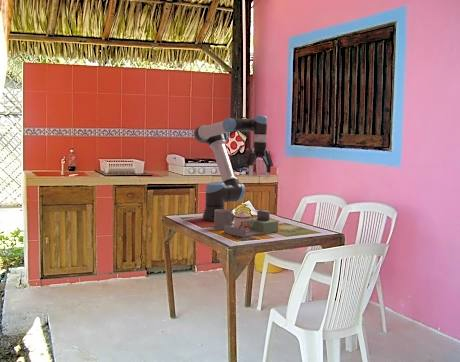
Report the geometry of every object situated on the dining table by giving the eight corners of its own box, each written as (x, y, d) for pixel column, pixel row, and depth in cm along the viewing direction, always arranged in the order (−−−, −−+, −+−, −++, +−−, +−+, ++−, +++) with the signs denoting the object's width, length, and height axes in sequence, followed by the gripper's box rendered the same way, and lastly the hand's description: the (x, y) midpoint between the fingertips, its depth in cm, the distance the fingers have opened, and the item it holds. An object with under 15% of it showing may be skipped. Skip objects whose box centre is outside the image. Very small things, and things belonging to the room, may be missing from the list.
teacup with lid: (239, 233, 300) (239, 212, 298) (230, 230, 307) (231, 210, 306) (257, 231, 306) (258, 211, 305) (248, 229, 314) (249, 208, 312)
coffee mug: (219, 229, 315) (219, 212, 314) (210, 226, 323) (211, 209, 322) (239, 227, 322) (239, 210, 321) (230, 225, 330) (231, 208, 329)
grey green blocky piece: (223, 232, 307) (224, 212, 306) (257, 227, 325) (258, 208, 324) (244, 237, 295) (244, 217, 294) (277, 231, 314) (278, 212, 313)
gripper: (240, 140, 335) (240, 175, 337) (271, 142, 317) (269, 179, 319) (249, 140, 340) (248, 175, 342) (279, 142, 322) (278, 178, 324)
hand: (258, 177), depth 331 cm, fingers open, 13 cm apart
